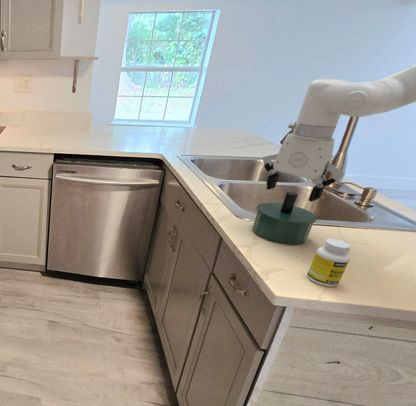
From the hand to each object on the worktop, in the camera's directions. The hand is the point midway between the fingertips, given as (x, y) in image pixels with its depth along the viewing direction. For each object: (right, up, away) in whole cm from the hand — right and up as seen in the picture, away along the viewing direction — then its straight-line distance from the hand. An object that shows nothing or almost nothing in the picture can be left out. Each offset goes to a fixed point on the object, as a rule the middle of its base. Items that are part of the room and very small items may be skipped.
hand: (290, 194), depth 98 cm
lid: (0, -5, +2) cm, 6 cm away
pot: (0, -11, +5) cm, 12 cm away
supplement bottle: (-6, -20, -15) cm, 26 cm away
